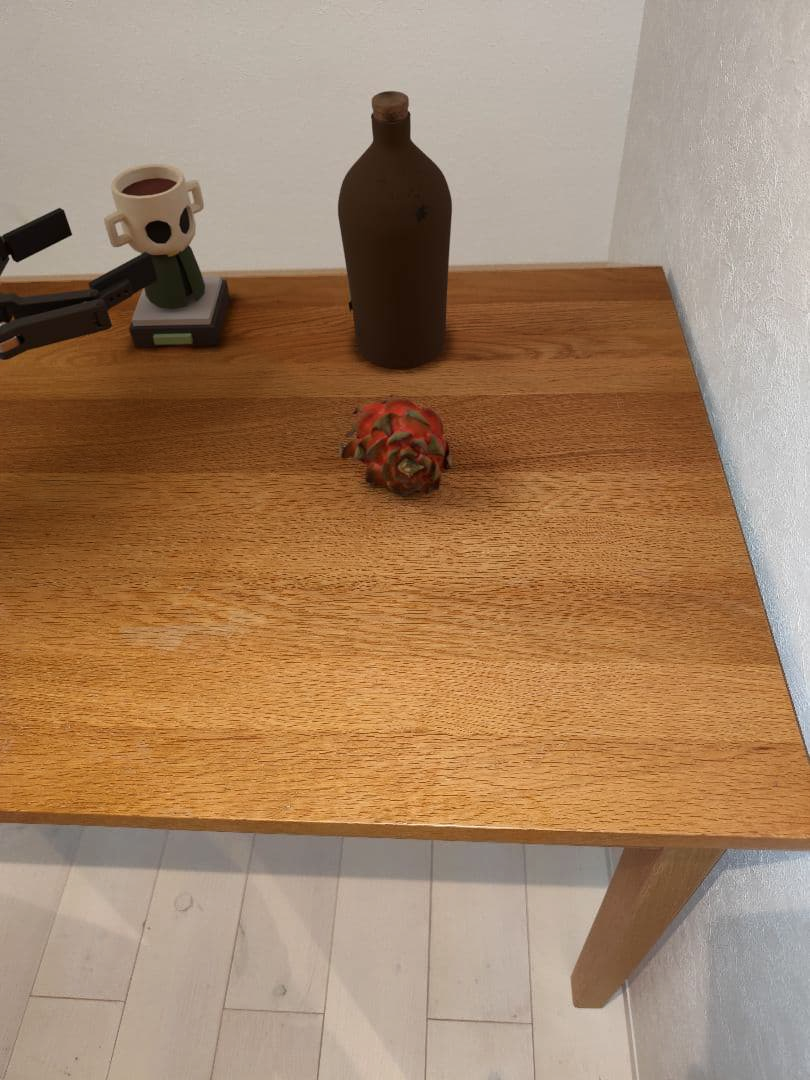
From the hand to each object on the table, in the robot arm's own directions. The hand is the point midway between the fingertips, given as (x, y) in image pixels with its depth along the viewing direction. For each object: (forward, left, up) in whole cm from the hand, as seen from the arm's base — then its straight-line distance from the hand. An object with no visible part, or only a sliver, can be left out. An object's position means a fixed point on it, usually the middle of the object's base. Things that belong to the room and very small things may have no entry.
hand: (107, 242), depth 86 cm
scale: (+4, +4, -12) cm, 13 cm away
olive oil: (+28, 0, -12) cm, 31 cm away
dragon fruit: (+28, -20, -12) cm, 37 cm away
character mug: (+4, +4, -9) cm, 11 cm away
